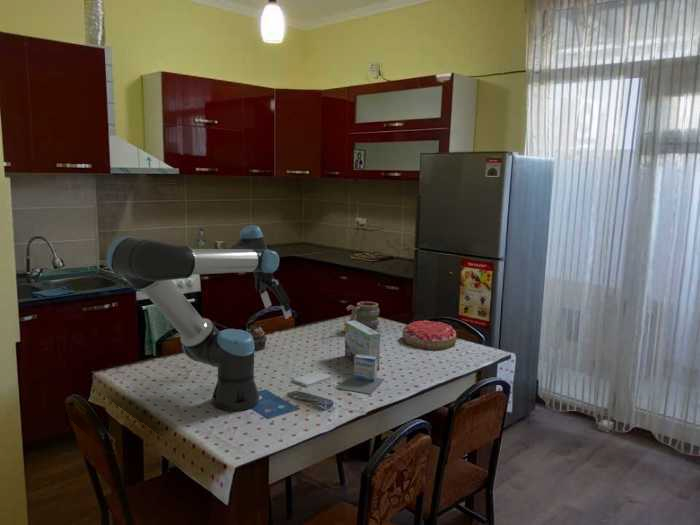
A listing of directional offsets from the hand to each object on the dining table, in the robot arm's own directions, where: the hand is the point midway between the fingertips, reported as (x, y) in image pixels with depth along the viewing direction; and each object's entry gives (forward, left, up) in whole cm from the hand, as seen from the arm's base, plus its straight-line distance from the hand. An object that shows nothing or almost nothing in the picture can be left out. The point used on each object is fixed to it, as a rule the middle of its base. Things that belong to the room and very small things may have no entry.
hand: (278, 311), depth 216 cm
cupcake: (+17, +20, -23) cm, 35 cm away
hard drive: (-8, -18, -23) cm, 30 cm away
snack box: (+19, -28, -23) cm, 41 cm away
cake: (+62, -47, -23) cm, 81 cm away
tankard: (+61, -13, -23) cm, 67 cm away
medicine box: (+1, -36, -22) cm, 42 cm away
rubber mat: (-4, -36, -22) cm, 42 cm away
